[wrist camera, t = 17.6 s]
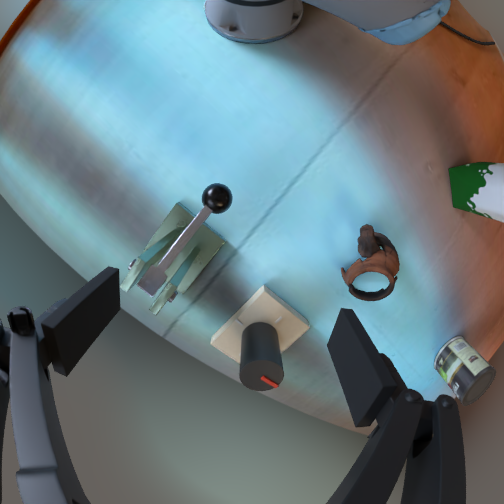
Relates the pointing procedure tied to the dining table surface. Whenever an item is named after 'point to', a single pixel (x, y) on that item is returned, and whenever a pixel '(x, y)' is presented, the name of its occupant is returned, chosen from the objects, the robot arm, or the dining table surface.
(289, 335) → the panel
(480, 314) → the dining table surface
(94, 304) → the robot arm
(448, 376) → the coffee can
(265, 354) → the tap knob
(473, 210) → the milk carton
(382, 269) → the broken clay pot
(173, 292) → the grey metal lever stand
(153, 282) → the tap lever
